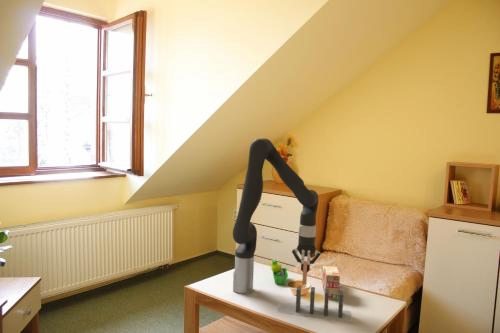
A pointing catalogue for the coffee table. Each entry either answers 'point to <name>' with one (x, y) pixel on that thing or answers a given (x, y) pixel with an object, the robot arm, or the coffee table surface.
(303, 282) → the domino
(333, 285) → the multicoloured printed box
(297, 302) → the domino
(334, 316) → the mat
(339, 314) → the domino
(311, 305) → the domino
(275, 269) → the fruit basket
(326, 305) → the domino
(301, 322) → the coffee table surface
